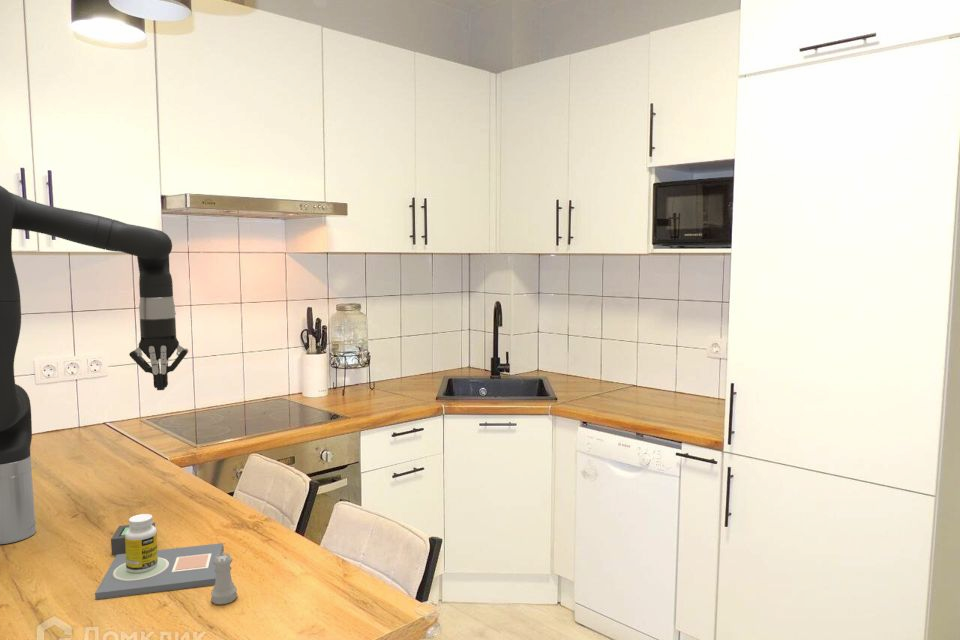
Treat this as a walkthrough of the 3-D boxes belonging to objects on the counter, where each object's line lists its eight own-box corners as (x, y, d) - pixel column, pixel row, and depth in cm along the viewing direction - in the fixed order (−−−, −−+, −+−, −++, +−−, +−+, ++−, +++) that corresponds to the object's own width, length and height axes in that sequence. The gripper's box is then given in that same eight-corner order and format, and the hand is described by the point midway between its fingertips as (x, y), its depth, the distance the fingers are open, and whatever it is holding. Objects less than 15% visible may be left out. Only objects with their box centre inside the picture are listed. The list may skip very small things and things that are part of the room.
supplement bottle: (144, 575, 127) (141, 524, 126) (119, 571, 128) (117, 521, 127) (164, 562, 132) (162, 513, 131) (140, 559, 134) (138, 511, 133)
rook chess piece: (215, 593, 123) (213, 550, 122) (240, 592, 124) (238, 550, 123) (207, 606, 119) (205, 562, 118) (233, 605, 119) (232, 561, 118)
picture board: (95, 599, 121) (94, 592, 121) (117, 560, 136) (116, 553, 136) (215, 584, 126) (215, 577, 126) (223, 548, 142) (223, 542, 142)
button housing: (111, 555, 138) (110, 539, 138) (120, 541, 145) (119, 525, 145) (149, 551, 140) (148, 535, 140) (155, 538, 147) (155, 522, 147)
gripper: (122, 318, 154) (126, 394, 155) (185, 317, 157) (189, 391, 159) (129, 315, 161) (133, 388, 163) (190, 314, 164) (193, 385, 166)
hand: (161, 389), depth 161 cm, fingers closed
